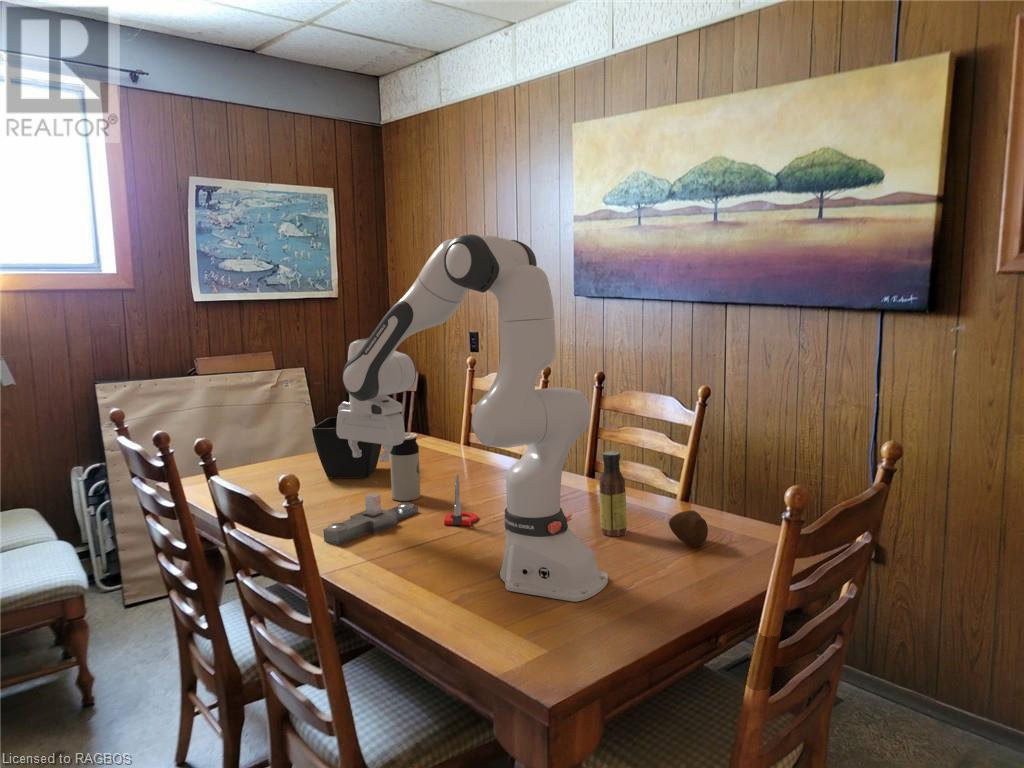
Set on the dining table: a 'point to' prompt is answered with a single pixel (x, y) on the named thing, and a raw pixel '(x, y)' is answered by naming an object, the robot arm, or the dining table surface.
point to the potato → (689, 527)
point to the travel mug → (405, 469)
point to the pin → (373, 505)
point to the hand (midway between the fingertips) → (370, 459)
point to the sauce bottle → (612, 496)
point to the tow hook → (459, 511)
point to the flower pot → (343, 453)
